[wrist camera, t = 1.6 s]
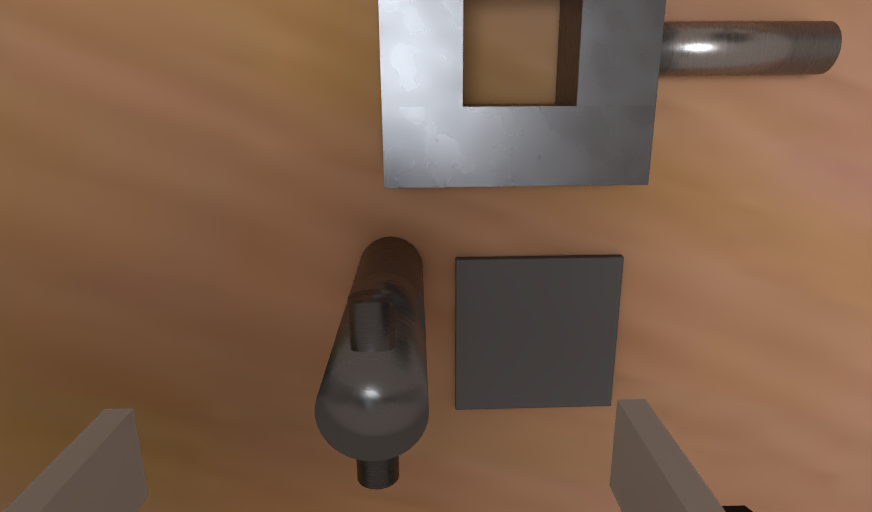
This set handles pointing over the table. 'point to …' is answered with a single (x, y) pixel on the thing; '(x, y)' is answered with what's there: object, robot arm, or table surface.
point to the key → (378, 365)
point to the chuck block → (563, 91)
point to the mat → (536, 330)
